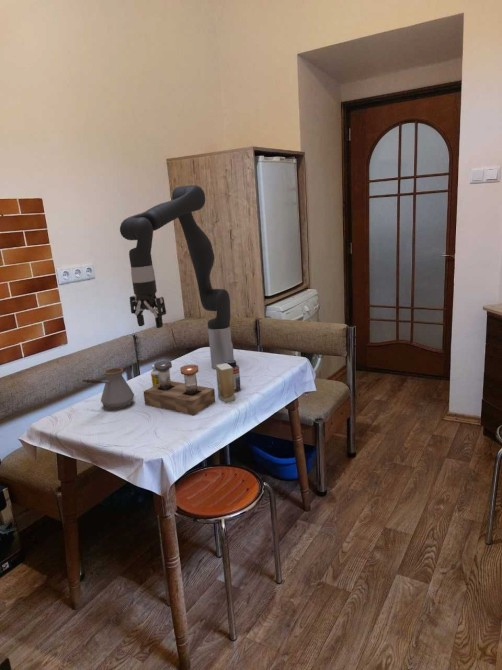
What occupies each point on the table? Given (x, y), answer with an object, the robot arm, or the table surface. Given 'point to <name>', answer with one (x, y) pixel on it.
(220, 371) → the skincare box
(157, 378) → the supplement bottle
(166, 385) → the plug grey
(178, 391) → the socket board
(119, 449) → the table surface
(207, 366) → the table surface
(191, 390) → the plug rust
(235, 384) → the supplement bottle
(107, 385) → the coffee pot
